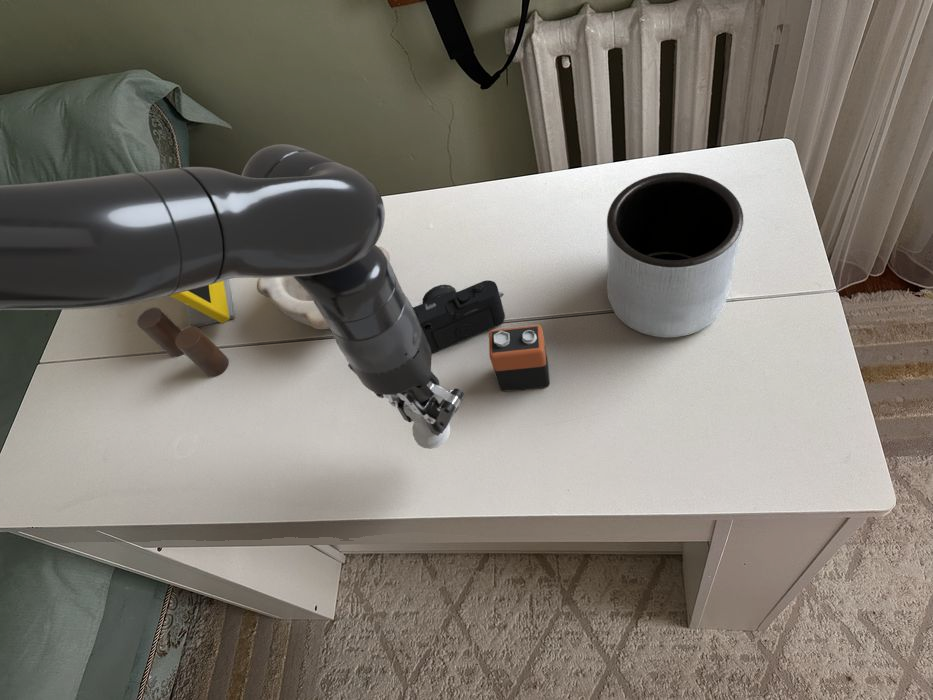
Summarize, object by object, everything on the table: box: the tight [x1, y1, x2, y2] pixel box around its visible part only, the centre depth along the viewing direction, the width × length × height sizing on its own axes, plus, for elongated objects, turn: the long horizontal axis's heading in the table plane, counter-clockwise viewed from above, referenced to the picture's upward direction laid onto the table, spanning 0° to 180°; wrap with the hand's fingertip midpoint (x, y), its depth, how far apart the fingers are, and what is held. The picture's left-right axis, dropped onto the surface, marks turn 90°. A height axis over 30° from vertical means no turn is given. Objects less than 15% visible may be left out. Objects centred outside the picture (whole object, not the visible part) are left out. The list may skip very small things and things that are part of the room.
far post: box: [136, 307, 185, 358], centre depth 99 cm, size 4×4×8 cm
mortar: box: [256, 246, 391, 330], centre depth 96 cm, size 17×17×9 cm
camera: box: [412, 279, 506, 355], centre depth 90 cm, size 14×7×8 cm, turn 110°
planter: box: [606, 171, 745, 338], centre depth 82 cm, size 16×16×16 cm
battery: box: [488, 324, 551, 392], centre depth 82 cm, size 4×7×10 cm, turn 90°
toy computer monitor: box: [168, 279, 236, 328], centre depth 100 cm, size 20×8×16 cm, turn 20°
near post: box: [175, 325, 230, 378], centre depth 95 cm, size 4×4×8 cm
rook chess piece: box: [403, 401, 451, 450], centre depth 71 cm, size 4×4×8 cm
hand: (426, 421), depth 72 cm, fingers closed on rook chess piece, 3 cm apart
